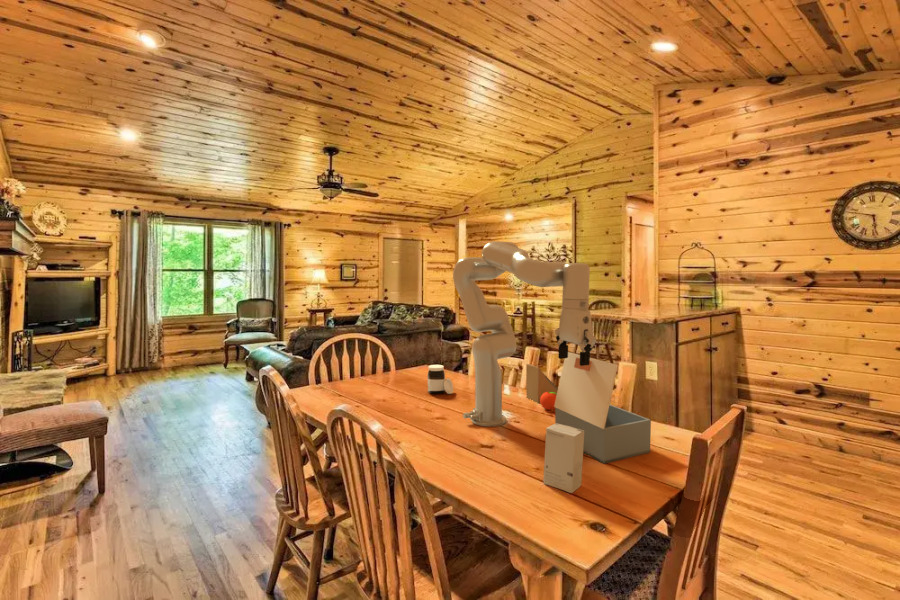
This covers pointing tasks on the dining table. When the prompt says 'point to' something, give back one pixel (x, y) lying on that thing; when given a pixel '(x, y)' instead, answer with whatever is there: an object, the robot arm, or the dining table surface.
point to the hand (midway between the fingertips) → (573, 361)
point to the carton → (612, 434)
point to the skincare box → (563, 457)
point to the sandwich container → (537, 383)
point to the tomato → (548, 400)
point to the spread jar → (438, 380)
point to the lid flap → (586, 389)
